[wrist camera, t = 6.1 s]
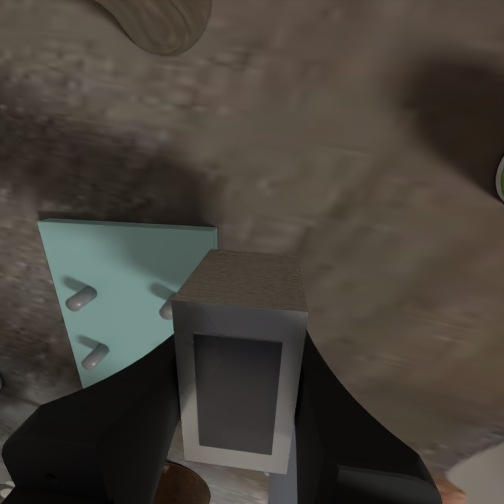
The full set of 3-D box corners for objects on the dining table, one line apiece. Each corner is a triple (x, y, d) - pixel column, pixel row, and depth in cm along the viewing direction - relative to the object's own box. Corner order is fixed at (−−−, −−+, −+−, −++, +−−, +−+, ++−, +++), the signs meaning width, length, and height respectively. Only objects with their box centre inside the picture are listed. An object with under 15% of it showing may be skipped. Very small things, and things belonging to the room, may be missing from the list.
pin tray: (220, 397, 26) (212, 428, 23) (92, 382, 27) (68, 410, 24) (216, 227, 20) (205, 239, 17) (50, 218, 21) (11, 228, 18)
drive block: (284, 378, 15) (286, 476, 11) (213, 370, 16) (184, 461, 11) (297, 255, 12) (308, 313, 8) (210, 248, 13) (170, 301, 8)
